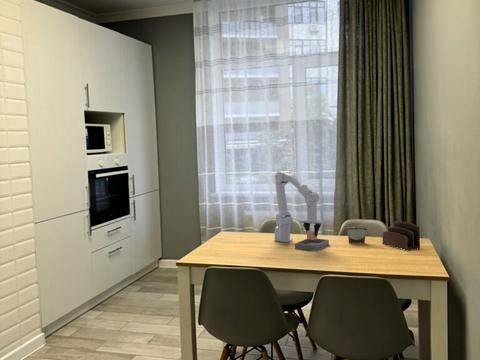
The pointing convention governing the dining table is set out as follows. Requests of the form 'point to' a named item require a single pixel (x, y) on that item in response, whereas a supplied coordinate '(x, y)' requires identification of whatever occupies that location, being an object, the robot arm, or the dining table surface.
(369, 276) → the dining table surface
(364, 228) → the food container
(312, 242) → the baking dish
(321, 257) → the dining table surface
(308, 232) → the terracotta block
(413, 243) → the letter holder
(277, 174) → the robot arm
